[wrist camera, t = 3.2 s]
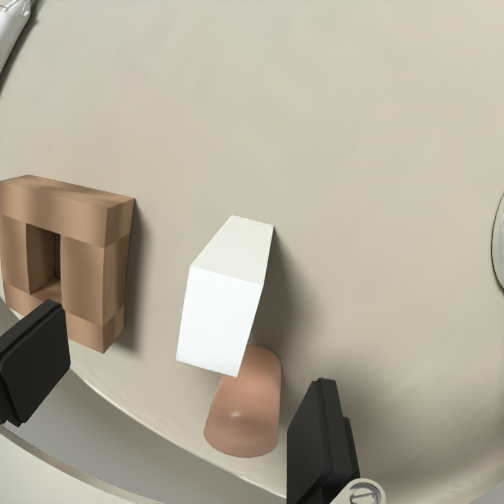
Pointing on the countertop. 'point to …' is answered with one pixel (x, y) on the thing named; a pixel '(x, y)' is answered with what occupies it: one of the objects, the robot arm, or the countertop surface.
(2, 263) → the slot block
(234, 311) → the flat bar peg
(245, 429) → the round peg
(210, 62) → the countertop surface
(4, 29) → the white long slotted part
